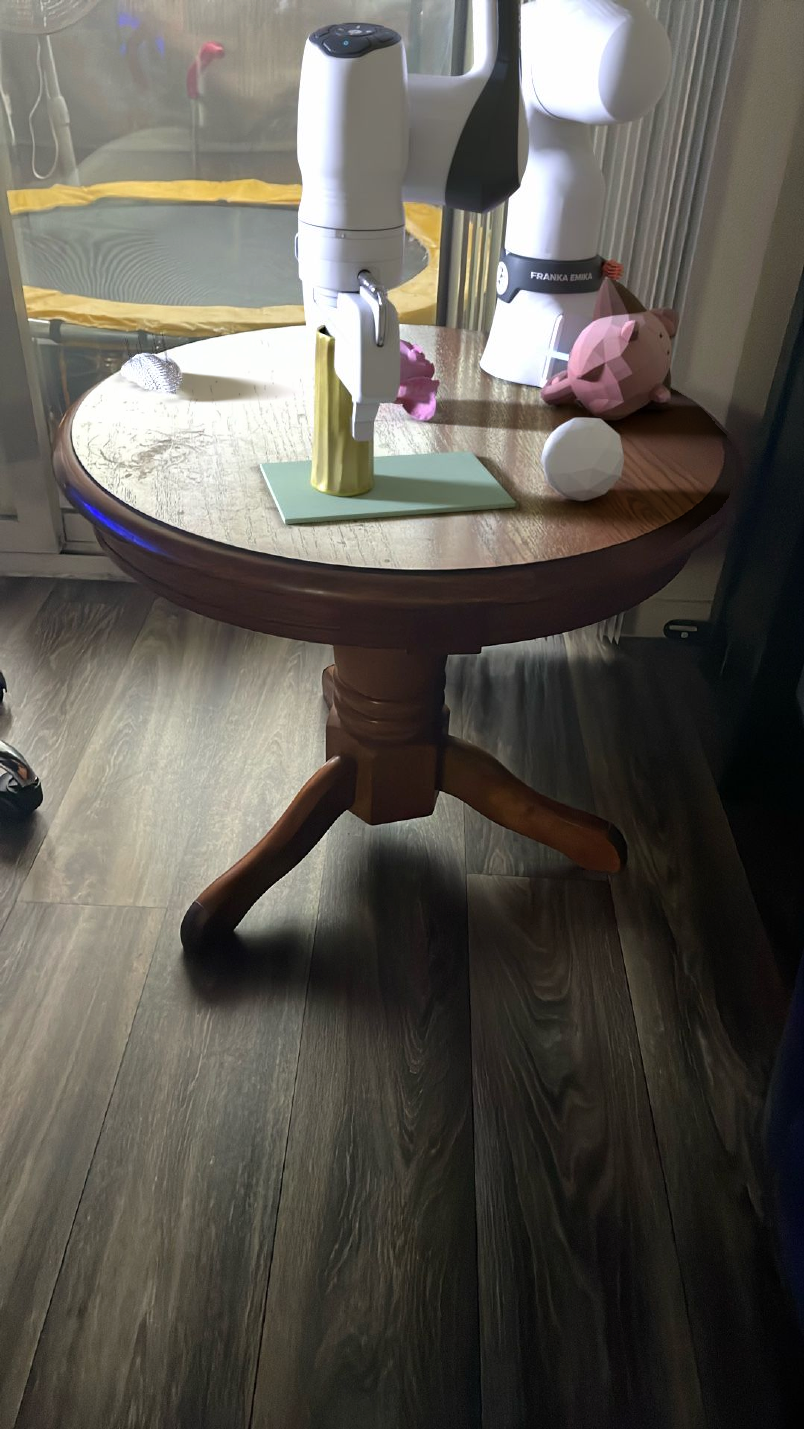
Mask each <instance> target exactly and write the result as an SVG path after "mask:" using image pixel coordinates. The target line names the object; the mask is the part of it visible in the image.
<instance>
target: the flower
mask: <svg viewBox="0 0 804 1429" xmlns="http://www.w3.org/2000/svg"><path fill="white" fill-rule="evenodd" d="M435 372H436V368H435V364H434V363H433V362H431V361H430V360H429V359H426V355H425V353H423V349H422V348H420V346H419V345H418V344H417V343H414V344H412V343H411V341H406V340H404V339H401V338H400V388H399V393H398V396H397V398H396V400H395V401H394V402H390V404H393V405H401V407H402V408H403V410H404V411H405V412H406V413H407V414H408V416H409V417H410V418H413V419H414V420H416V421H419V422H426V421H429V420H431V419H433V417H434V414H435V412H436V406H437V401H436V396H437V394H438V388H439V387H440V385H441V382H440V379H433V378H434V376H435Z"/></svg>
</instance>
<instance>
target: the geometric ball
mask: <svg viewBox="0 0 804 1429" xmlns="http://www.w3.org/2000/svg"><path fill="white" fill-rule="evenodd" d="M540 459H541V464H542V467H543V472H544V477H545V482H546V484H547V485H548V486H549V487H551V488H552V489H553V490H554V491H555V492H557V493H558V494H559V495H560V496H562V497H563V498H564V499H565V500H573V501H578V502H585V501H590V500H593V499H596V498H599V497H600V496H603V495H606V493H607V492H609V490H611V488H612V487H613V486H614V485H615V484H616V483H617V482H618V480H619V479H620V478H621V477H622V474H623V469H624V464H625V456H624V450H623V445H622V440H621V435H620V434H619V433H618V432H617V431H615V429H614V428H612V427H611V426H610V425H608V423H606V422H605V420H602V419H600V418H598V417H597V418H596V417H573V418H571V419H569V420H568V421H566V422H563V423H561V424H560V425H559V426H558V427H556V428H555V429H554V430H553V431H552V432H551V433H550V435H549V436H548V438H547V439H546V440H545V443H544V446H543V450H542V453H541V458H540Z"/></svg>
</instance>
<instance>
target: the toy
mask: <svg viewBox="0 0 804 1429" xmlns="http://www.w3.org/2000/svg"><path fill="white" fill-rule="evenodd" d="M679 324H680V315H679V312H678V310H674V309H672V308H670V307H667V306H664V307H656V308H651V309H648V310H647V309H646V307H645V306H644V305H643V303H642V302H641V301H640V300H639V298H638V297H637V296H636V295H635V294H633V293H632V291H630V290H629V289H628V288H627V287H626V286H624V284H622V283H620V282H619V281H618V280H617V281H616V280H614V279H613V278H608V277H605V280H604V281H603V283H602V285H601V287H600V290H599V292H598V295H597V299H596V303H595V307H594V312H593V319H592V323H591V324H590V325H588V326H587V327H586V328H585V329H584V330H583V331H582V332H581V334H580V335H579V337H578V339H577V340H576V342H575V343H574V345H573V347H572V349H571V351H570V353H569V356H568V368H567V370H566V371H562V372H560V373H558V374H555V375H554V376H553V377H551V378H550V379H548V381H547V382H546V384H545V385H544V387H543V388H542V387H541V389H540V391H539V395H540V398H541V400H542V401H543V402H544V403H545V404H546V405H548V406H558V405H563V404H567V403H570V402H572V401H575V400H577V399H578V401H580V402H581V404H582V405H583V406H584V407H585V408H586V409H587V410H588V411H589V412H590V413H591V414H592V415H593V416H595V417H597V418H599V419H602V420H603V421H618V420H622V419H624V418H626V417H627V416H630V415H631V414H633V413H635V412H637V411H638V410H640V409H646V410H650V411H664V410H666V408H667V407H668V405H669V402H670V401H671V387H672V373H671V364H672V355H673V346H672V343H673V341H674V340H675V338H676V335H677V332H678V329H679Z"/></svg>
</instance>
